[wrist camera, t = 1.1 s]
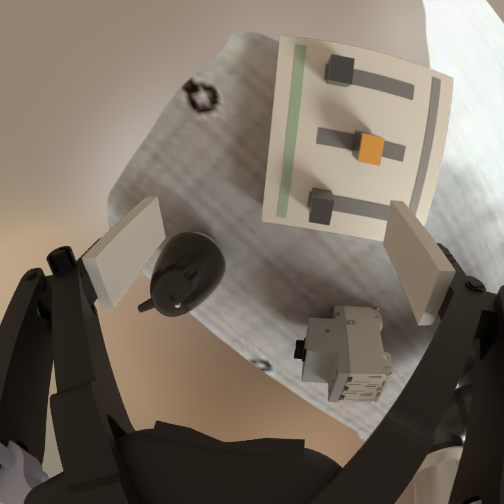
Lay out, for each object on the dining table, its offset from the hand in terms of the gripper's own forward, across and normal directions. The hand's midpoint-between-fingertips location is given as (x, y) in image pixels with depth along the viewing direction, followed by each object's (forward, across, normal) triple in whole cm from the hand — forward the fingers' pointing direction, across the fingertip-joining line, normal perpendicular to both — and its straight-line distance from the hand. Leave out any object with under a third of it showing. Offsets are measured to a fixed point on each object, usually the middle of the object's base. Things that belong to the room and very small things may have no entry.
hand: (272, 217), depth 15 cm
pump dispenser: (+25, +14, +18) cm, 34 cm away
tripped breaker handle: (+19, -10, -1) cm, 22 cm away
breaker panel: (+25, -10, 0) cm, 27 cm away
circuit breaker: (+23, -10, +31) cm, 40 cm away
